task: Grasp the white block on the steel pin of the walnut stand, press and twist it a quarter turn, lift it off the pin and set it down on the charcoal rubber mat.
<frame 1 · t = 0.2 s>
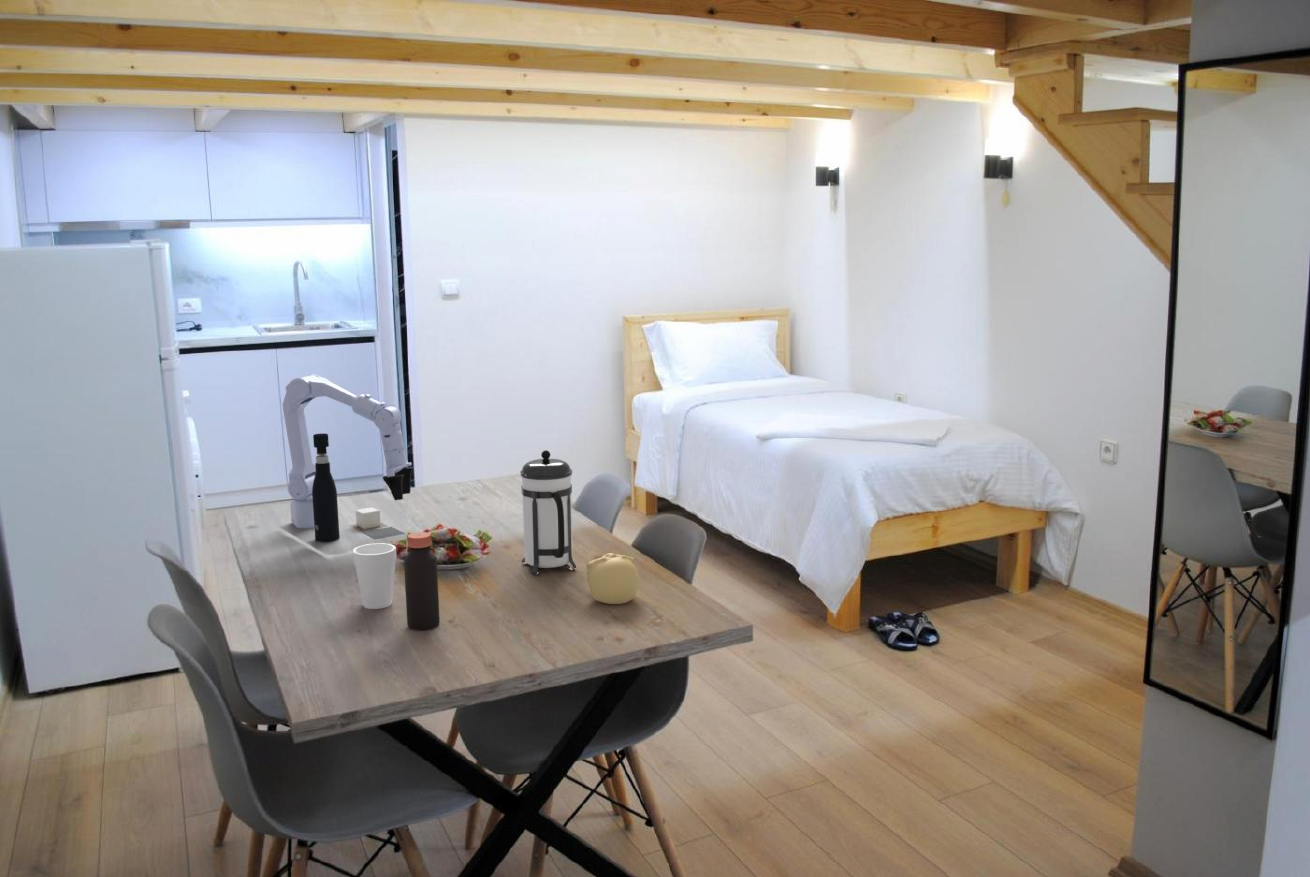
hand: (402, 496, 297), 10 cm above the table, tool pointing down, fingers open, 7 cm apart
white block: (368, 525, 303), point 1 cm above the table, touching pin stand
foam cup: (377, 605, 240), on the table
dark brown water bottle: (423, 626, 227), on the table
coffee press: (551, 569, 265), on the table
pin stand: (368, 528, 303), on the table
mat: (383, 536, 295), on the table
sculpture: (613, 601, 242), on the table
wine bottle: (327, 543, 290), on the table
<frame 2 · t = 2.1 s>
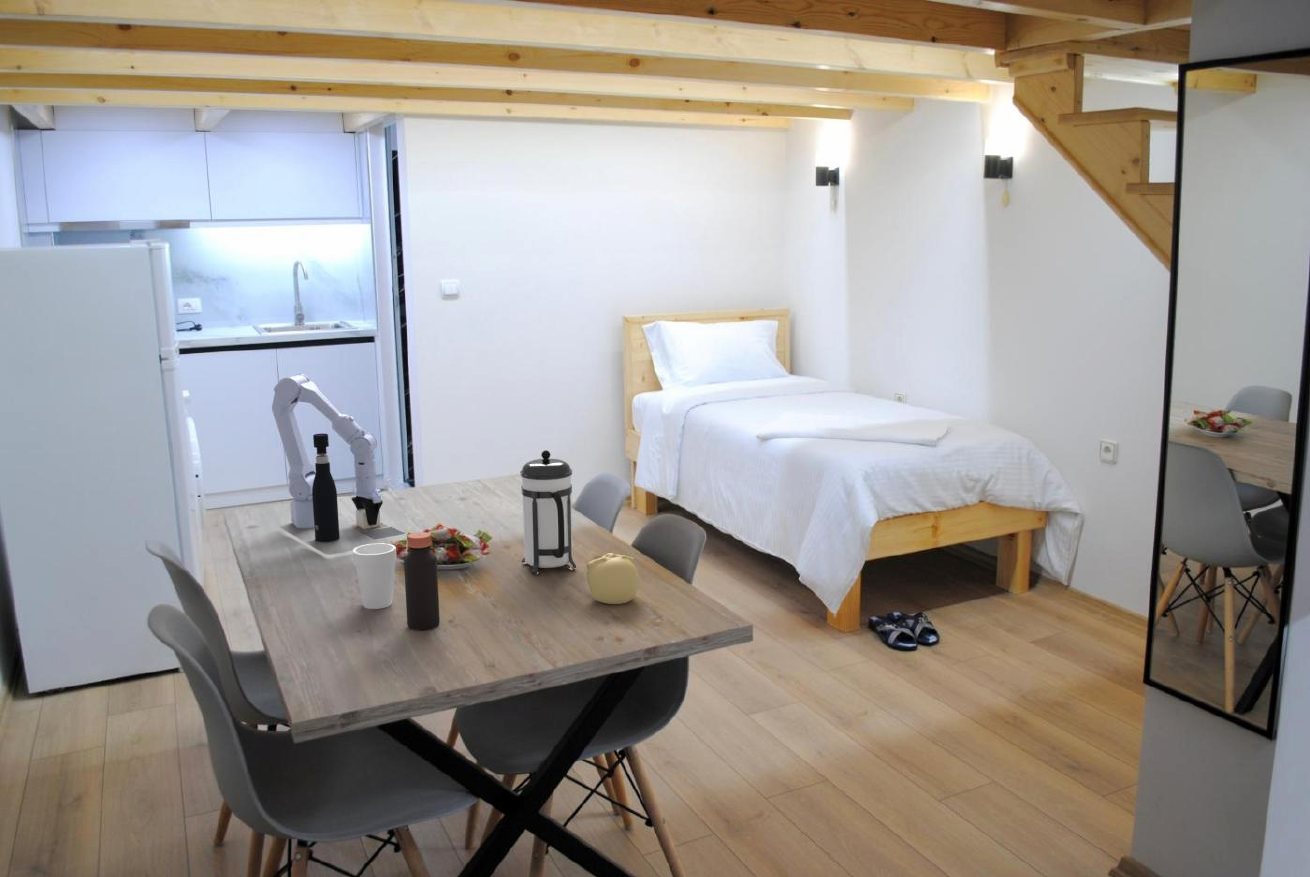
hand: (368, 522, 303), 2 cm above the table, tool pointing down, fingers closed on white block, 5 cm apart
white block: (368, 525, 303), point 1 cm above the table, touching gripper, pin stand
everything else where it was.
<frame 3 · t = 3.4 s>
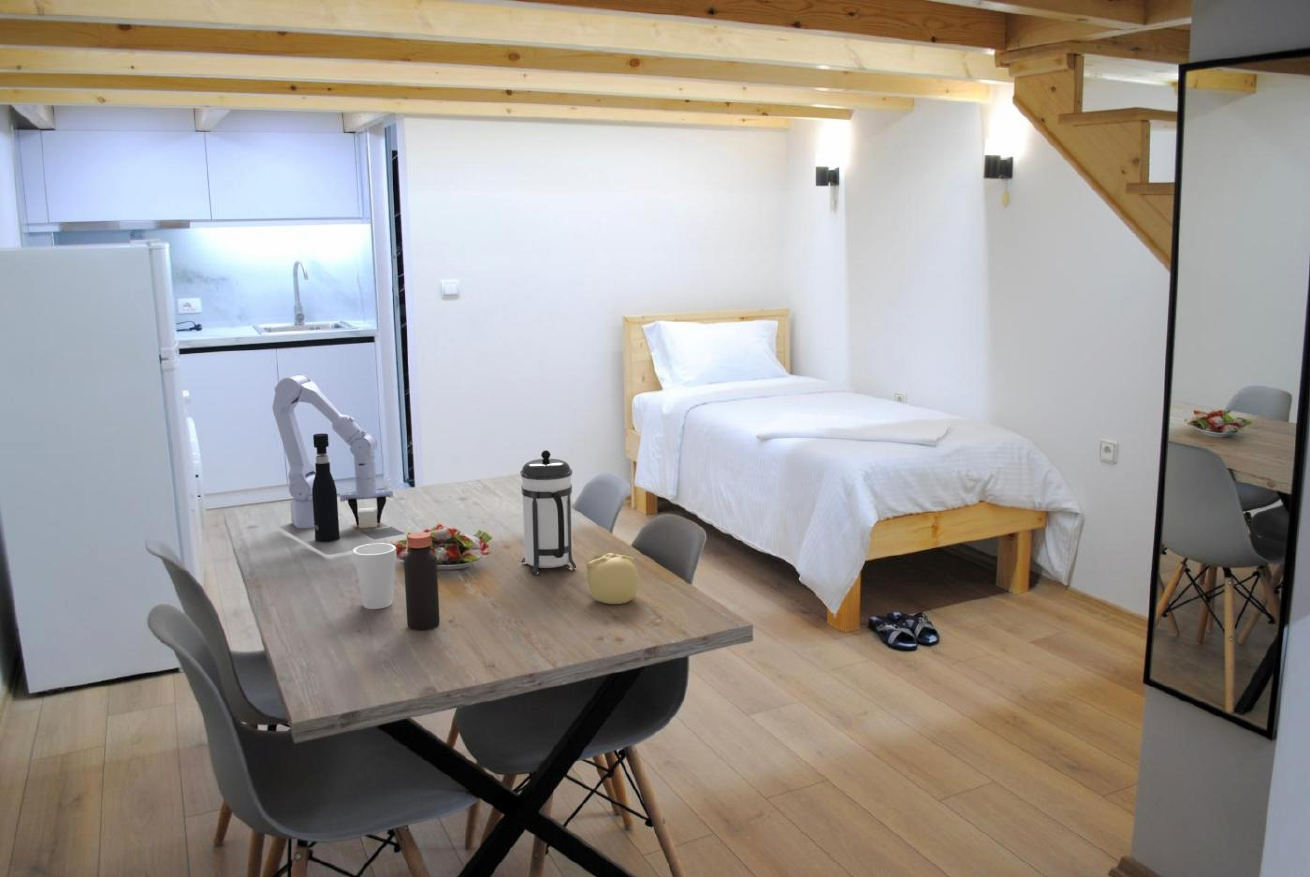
hand: (368, 523, 303), 2 cm above the table, tool pointing down, fingers closed on white block, 5 cm apart
white block: (368, 525, 303), point 1 cm above the table, touching gripper
everything else where it was.
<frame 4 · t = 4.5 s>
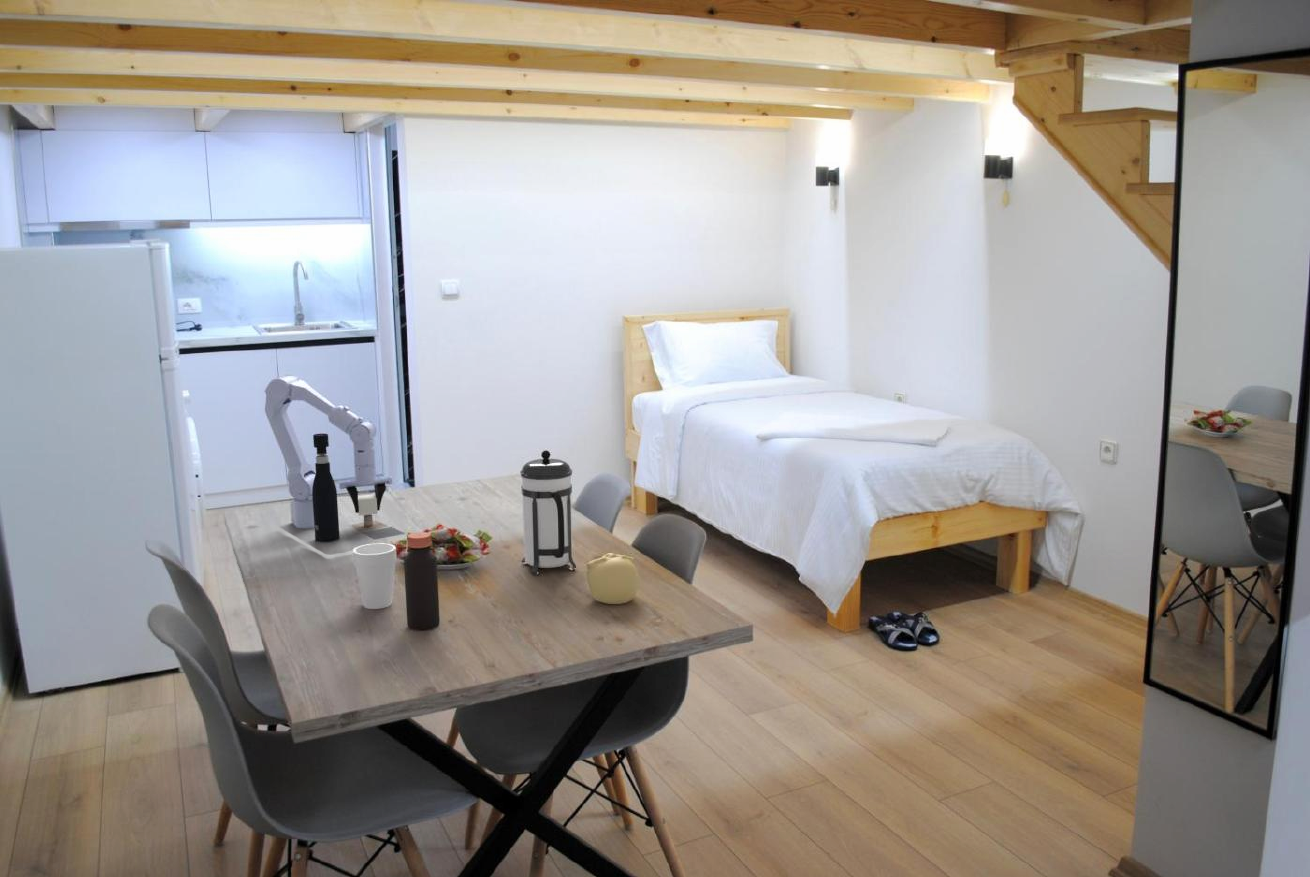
hand: (367, 510, 302), 5 cm above the table, tool pointing down, fingers closed on white block, 5 cm apart
white block: (367, 512, 302), point 5 cm above the table, touching gripper
everything else where it was.
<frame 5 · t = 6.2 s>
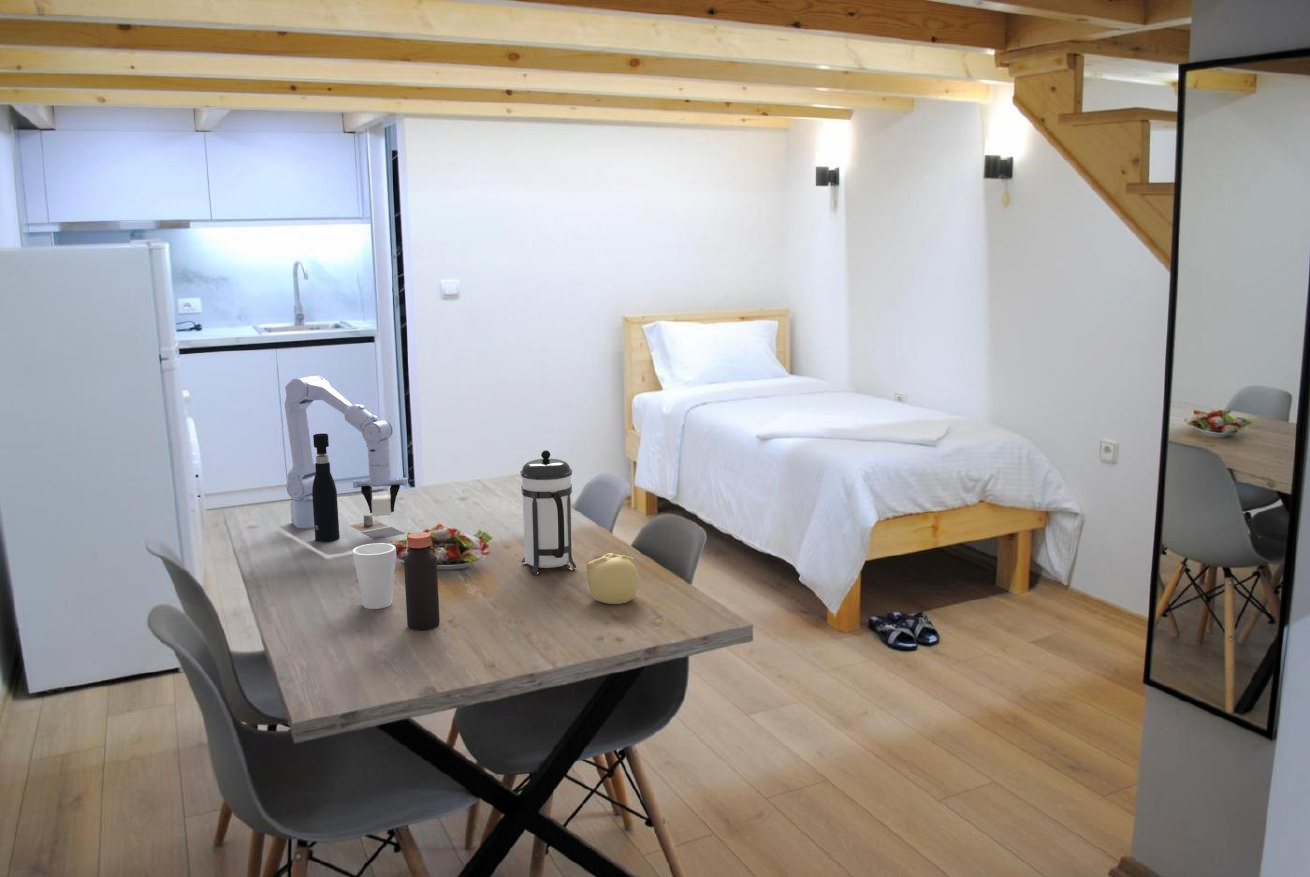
hand: (382, 511, 294), 7 cm above the table, tool pointing down, fingers closed on white block, 5 cm apart
white block: (382, 513, 294), point 7 cm above the table, touching gripper
everything else where it was.
when the fingers open (3 cm above the table, at t = 7.4 s): white block drops 1 cm, resting on mat.
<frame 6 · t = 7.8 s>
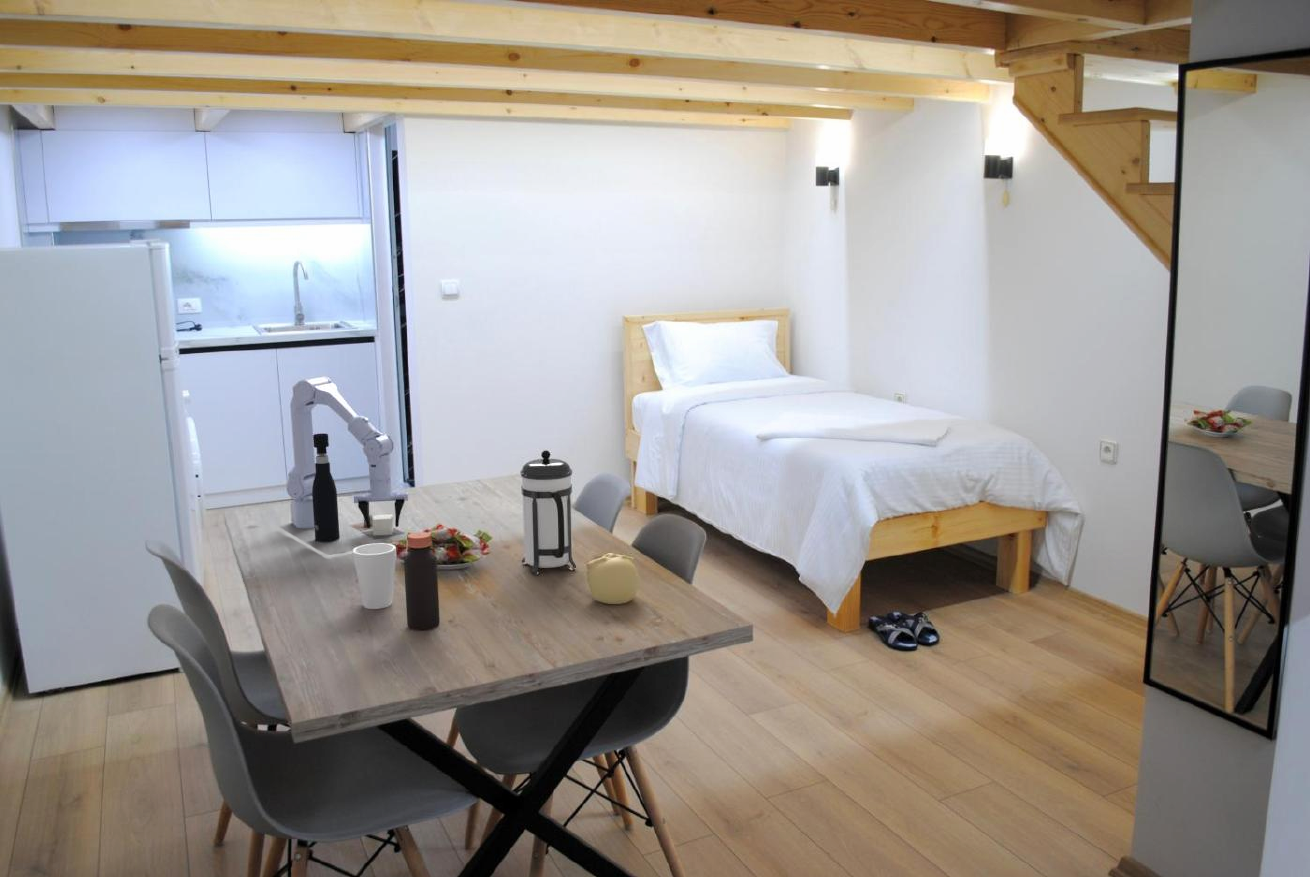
hand: (383, 526, 295), 3 cm above the table, tool pointing down, fingers open, 7 cm apart
white block: (383, 532, 295), point 1 cm above the table, touching mat
everything else where it was.
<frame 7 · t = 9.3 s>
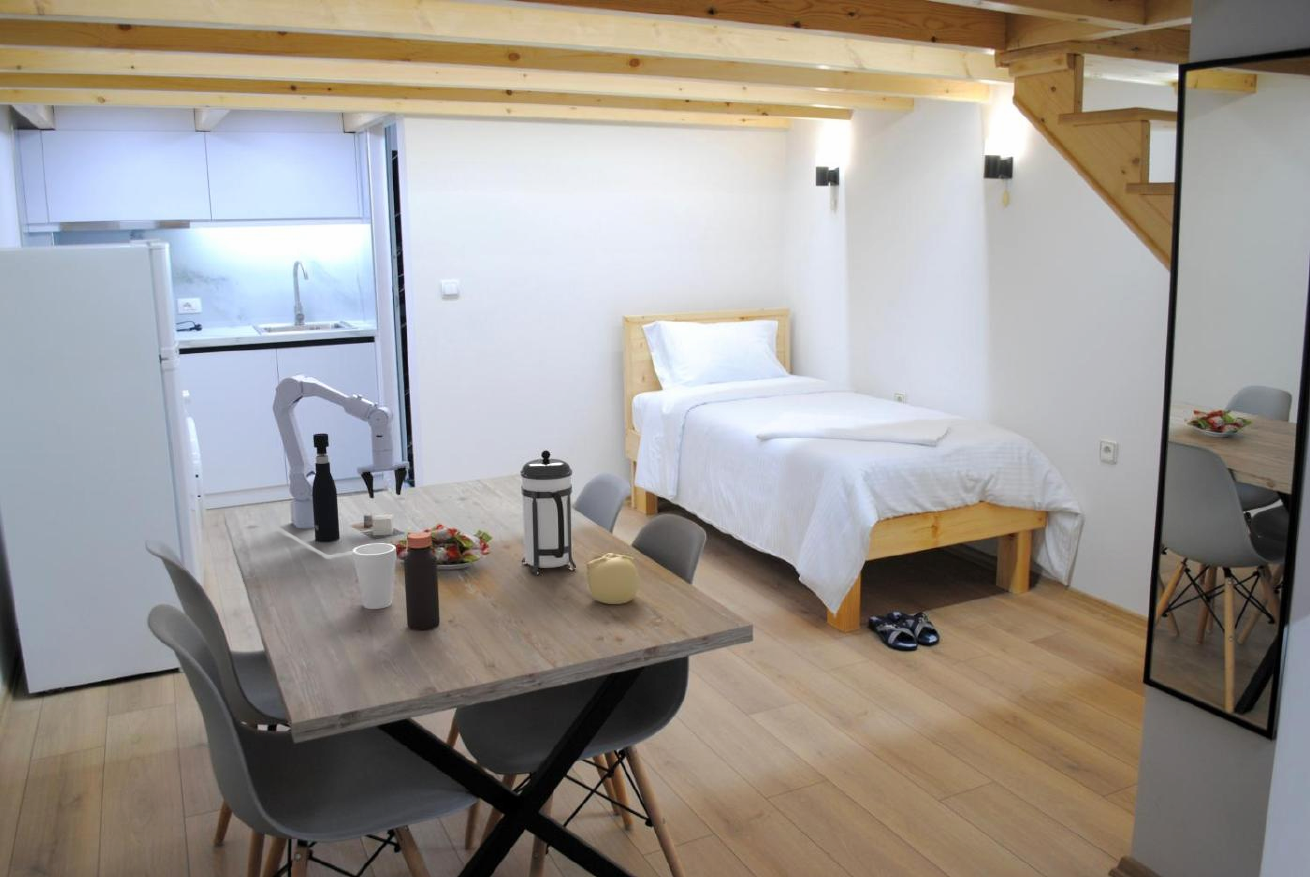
hand: (385, 495, 302), 9 cm above the table, tool pointing down, fingers open, 7 cm apart
nothing on the table moved.
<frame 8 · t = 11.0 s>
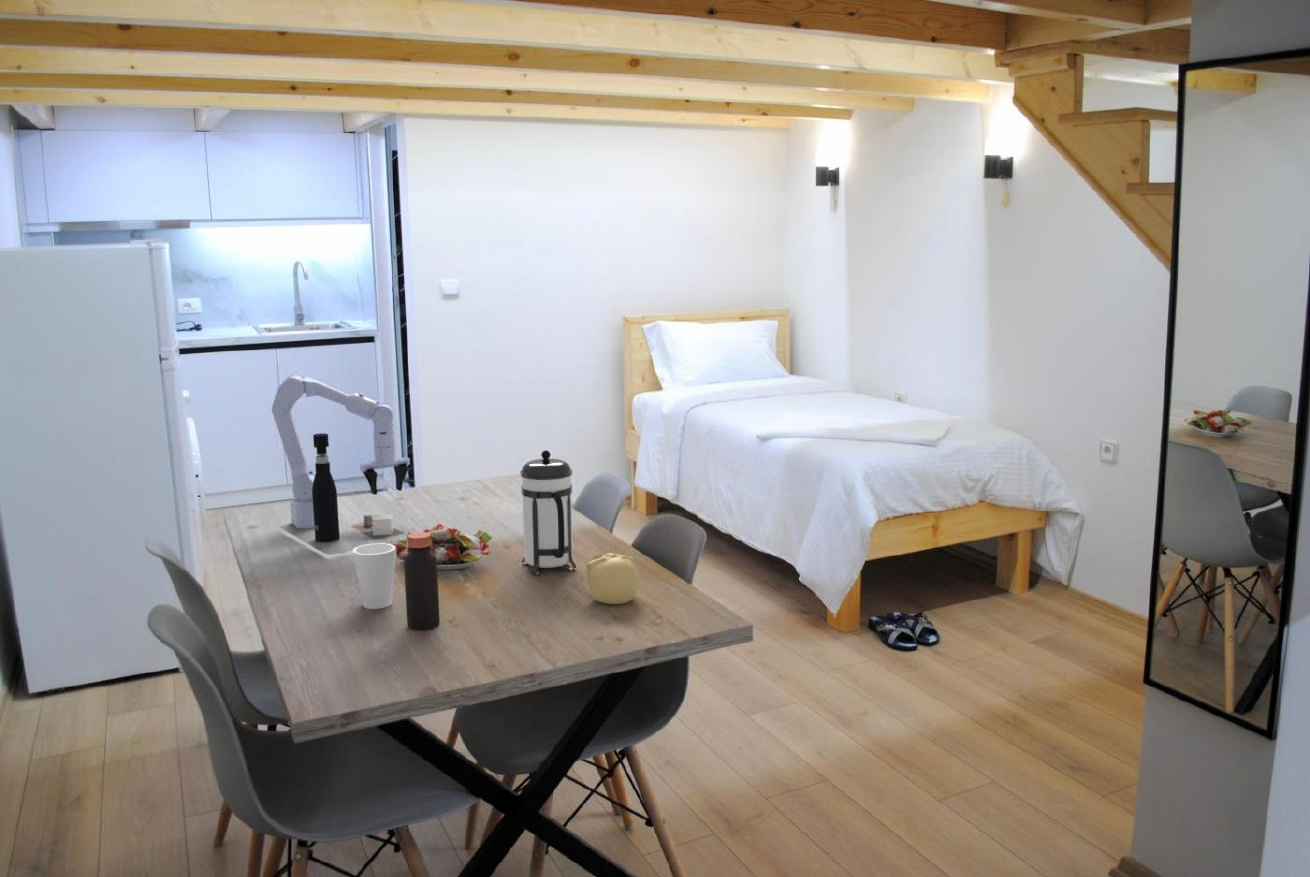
hand: (386, 492, 307), 9 cm above the table, tool pointing down, fingers open, 7 cm apart
nothing on the table moved.
at the end: white block 0.3 cm off-centre on the mat, point 1.0 cm above the mat's base; white block tilted 0°; the gripper is holding nothing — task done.
